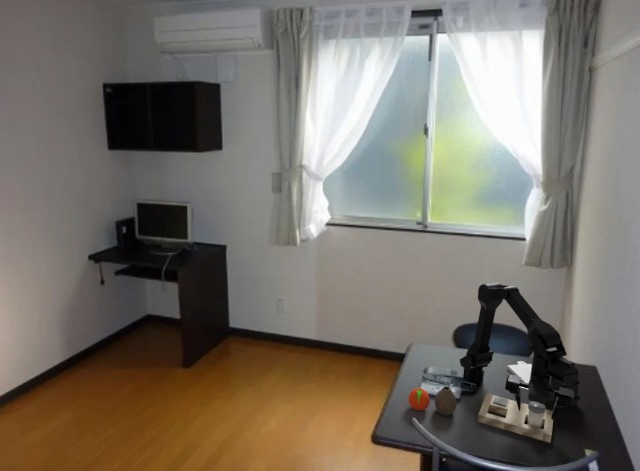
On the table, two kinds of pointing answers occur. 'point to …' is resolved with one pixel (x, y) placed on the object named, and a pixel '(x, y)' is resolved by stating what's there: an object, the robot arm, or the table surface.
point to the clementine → (419, 399)
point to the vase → (445, 401)
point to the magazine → (557, 384)
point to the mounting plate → (521, 370)
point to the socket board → (514, 418)
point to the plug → (535, 414)
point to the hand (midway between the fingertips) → (535, 414)
